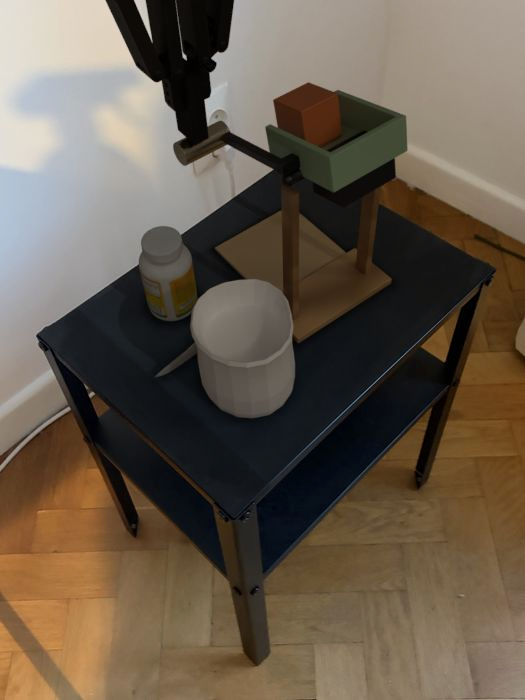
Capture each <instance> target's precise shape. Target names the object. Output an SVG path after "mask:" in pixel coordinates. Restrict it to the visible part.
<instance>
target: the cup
mask: <svg viewBox="0 0 525 700" xmlns="http://www.w3.org/2000/svg"><path fill="white" fill-rule="evenodd" d="M189 328H190V333H191V337H192V339H193V341H194V342H195V343H196V346H197V353H196V354H197V364H198V368H199V369H198V370H199V375H200V380H201V385H202V387H203V389H204V391H205V392H206V395H207V396H208V398H209V399H210V400H211V401H212V403H214V405H216V406H217V408H219V410H221V411H222V412H225V413H227V414H230V415H231V416H234V417H236V418H245V419H257V418H261V417H267V416H270V415H271V414H273V413H274V412H275V411H277V410H278V409H280V408H281V407H283V406H284V405H285V403H286V401H287V400H288V399H289V397H291V394H292V393H293V390H294V384H295V379H296V361H295V359H296V358H295V352H294V346H293V338H292V334H293V320H292V314H291V310H290V307H289V303H288V300H287V299H286V297H285V296H284V294H283V293H282V291H281V290H279V289H278V288H276V287H275V286H273V285H272V284H270V283H269V282H265V281H261V280H257V279H248V280H245V279H235V280H232V281H225V282H222V283H219V284H217V285H215V286H213V287H211V288H209V289H207V290H206V291H205V292H204V293H203V294H202V295H201V296H200V297H198V300H197V302H196V304H195V305H194V307H193V309H192V313H191V314H190V324H189Z"/></svg>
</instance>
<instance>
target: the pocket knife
mask: <svg viewBox="0 0 525 700" xmlns="http://www.w3.org/2000/svg"><path fill="white" fill-rule="evenodd" d="M197 354H198V353H197V346H196V343H195V341H194V342H193V343H192V344H191V345H190V346H189V347H187V349H186V350H185V351H184V352H182V353H181V354H180V355H178V356H177V357H176V358H175V359H174V360H172V361H171V362H170V363H169V364H167V365H166V366H165V367H163V368H162V369H161V370H160V371H159V372H158V373H157V374H156V375H155V376H154V378H158V377H162V376H164V375H166V374H169V373H170V372H172V371H174V370H175V369H177V368H178V367H180V366H181V365H183V364H184V363H185V362H187V361H189V360H190V359H191V358H193V357H194V356H196V355H197Z"/></svg>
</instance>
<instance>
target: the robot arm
mask: <svg viewBox="0 0 525 700" xmlns="http://www.w3.org/2000/svg"><path fill="white" fill-rule="evenodd" d="M105 3H106V5H107V7H108V9H109V12H110V14H111V15H112V18H113V19H114V22H115V25H116V26H117V28H118V30H119V32H120V35H121V36H122V40H123V42H124V44H125V45H126V47H127V49H128V52H129V54H130V56H131V58H132V60H133V62H134V64H135V67H136V68H137V69H138V70H139V71H140V72H141V73H142V74H144V75H145V76H147V78H148V79H150V80H151V81H153V82H154V83H160V82H161V84H162V91H163V97H164V102H165V103H166V105H167V106H168V107H169V108H170V109H171V110H172V111H174V113H175V114H174V115H175V120H176V121H175V122H176V125H177V126H176V127H177V131H178V132H179V133H180V134H182V135H183V136H184V138H185V137H186V138H187V139H189V140H190V141H191V142H192V143H193V144H194V145H196V144H198V143H200V142H202V141H204V140H206V139H208V138H209V135H208V126H209V125H208V117H207V110H206V100H207V99H209V98H211V94H212V83H211V74H210V73H212V72H214V71H215V69H216V68H217V65H218V62H217V61H215V60H214V59H213V57H214V56H215V55H216V54H217V53H220V54H222V53H225V52H226V51H227V50H228V48H229V45H230V38H231V28H232V22H233V14H234V13H233V12H234V5H235V0H145V6H146V11H147V18H148V24H149V31H150V34H149V31H148V30H147V27H146V25H145V22H144V20H143V18H142V15H141V13H140V10H139V9H138V6H137V4H136V1H135V0H105ZM184 56H185V58H184Z"/></svg>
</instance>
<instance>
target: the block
mask: <svg viewBox="0 0 525 700" xmlns="http://www.w3.org/2000/svg"><path fill="white" fill-rule="evenodd" d="M272 101H273V108H274V114H275V120H276V125H277V126H276V127H277V128H279V129H282V130H284V131H286V132H288V133H290V134H292V135H294V136H296V137H299V138H301V139H303V140H305V141H307V142H309V143H311V144H313V145H315V146H318V147H320V148H321V147H323V146H325V145H327V144H329V143H330V142H332V141H334V140H336V139H338V138H340V137H342V130H341V121H340V111H339V102H338V94H337V93H335V92H334V91H333V90H331V89H328V88H325V87H323V86H320V85H317V84H315V83H312V82H309V81H308V82H306V83H304V84H301V85H300V86H298V87H296V88H294V89H292V90H290V91H287V92H286V93H284V94H282V95H280V96H278V97H276V98H274V99H273V100H272Z"/></svg>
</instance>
